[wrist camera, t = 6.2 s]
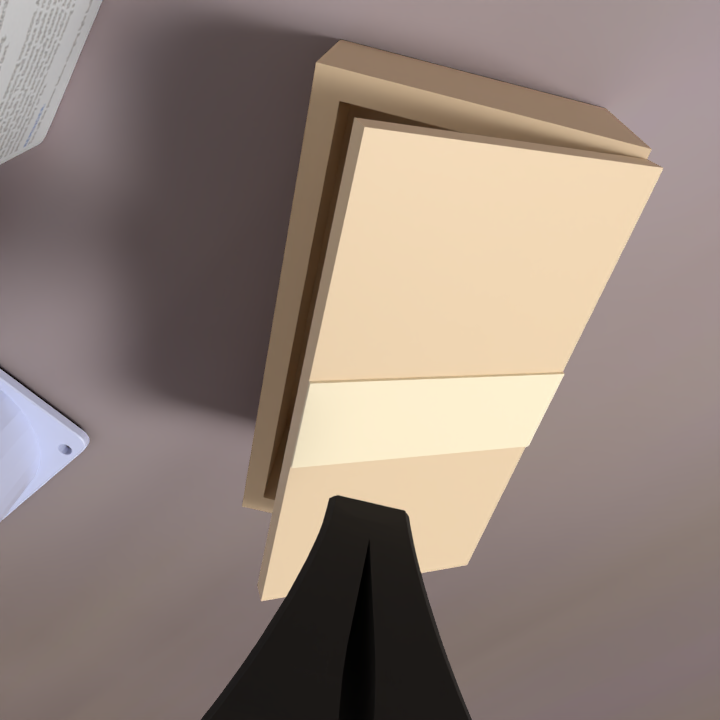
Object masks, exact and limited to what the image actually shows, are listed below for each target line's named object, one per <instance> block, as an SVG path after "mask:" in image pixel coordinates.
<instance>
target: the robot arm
mask: <svg viewBox="0 0 720 720" xmlns="http://www.w3.org/2000/svg"><path fill="white" fill-rule="evenodd" d="M88 444H89V437H88V435H87V434H86V433H85V432H84V431H83V430H82V429H80V428H79V427H78V426H76V425H75V424H74V423H72V422H71V421H70V420H68V419H67V418H66V417H64V416H63V415H62V414H60V413H59V412H58V411H56V410H55V409H54V408H52V407H51V406H50V405H48V404H47V403H46V402H44V401H43V400H42V399H40V398H39V397H38V396H36V395H35V394H33V393H32V392H31V391H29V390H28V389H27V388H25V387H24V386H23V385H21V384H20V383H19V382H17V381H16V380H15V379H13V378H12V377H11V376H9V375H8V374H7V373H5V372H4V371H3V370H1V369H0V522H1V521H2V520H3V519H4V518H5V517H6V516H7V515H9V514H10V513H11V512H12V511H13V510H15V509H16V508H17V507H18V506H19V505H20V504H22V503H23V502H24V501H25V500H26V499H27V498H29V497H30V496H31V495H32V494H33V493H34V492H36V491H37V490H38V489H39V488H40V487H41V486H43V485H44V484H45V483H46V482H47V481H49V480H50V479H51V478H52V477H53V476H54V475H56V474H57V473H58V472H59V471H60V470H61V469H63V468H64V467H65V466H66V465H67V464H68V463H70V462H71V461H72V460H73V459H74V458H76V457H77V456H78V455H79V454H80V453H81V452H83V451H84V449H85V448H86V447H87V445H88ZM66 445H67V446H69V447H67V446H66ZM201 720H472V719H471V717H470V714H469V712H468V710H467V707H466V705H465V702H464V700H463V697H462V695H461V692H460V690H459V687H458V684H457V682H456V679H455V677H454V674H453V671H452V669H451V666H450V663H449V661H448V658H447V655H446V652H445V649H444V646H443V644H442V641H441V638H440V635H439V632H438V628H437V625H436V622H435V619H434V616H433V613H432V610H431V606H430V603H429V600H428V597H427V593H426V590H425V586H424V582H423V579H422V575H421V571H420V567H419V563H418V559H417V555H416V551H415V546H414V541H413V536H412V531H411V526H410V519H409V516H408V514H407V513H406V511H405V510H400V509H396V508H392V507H387V506H383V505H379V504H374V503H370V502H366V501H361V500H357V499H353V498H348V497H344V496H340V495H336V496H333V497H331V498H329V501H328V505H327V508H326V512H325V516H324V519H323V523H322V526H321V528H320V531H319V533H318V536H317V538H316V540H315V542H314V544H313V547H312V549H311V551H310V553H309V555H308V557H307V559H306V561H305V563H304V565H303V567H302V568H301V570H300V572H299V574H298V576H297V578H296V580H295V581H294V583H293V585H292V587H291V589H290V591H289V592H288V594H287V596H286V598H285V599H284V601H283V603H282V604H281V606H280V607H279V609H278V611H277V612H276V614H275V615H274V617H273V619H272V620H271V622H270V623H269V625H268V626H267V628H266V630H265V631H264V633H263V634H262V636H261V638H260V639H259V641H258V642H257V644H256V645H255V647H254V648H253V650H252V651H251V653H250V654H249V655H248V657H247V658H246V660H245V661H244V663H243V664H242V665H241V667H240V668H239V670H238V671H237V673H236V674H235V675H234V677H233V678H232V679H231V681H230V682H229V684H228V685H227V686H226V688H225V689H224V690H223V692H222V693H221V694H220V696H219V697H218V698H217V700H216V701H215V702H214V704H213V705H212V706H211V707H210V709H209V710H208V711H207V713H206V714H205V715H204V716H203V718H202V719H201Z"/></svg>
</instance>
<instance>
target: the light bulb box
mask: <svg viewBox="0 0 720 720" xmlns="http://www.w3.org/2000/svg"><path fill="white" fill-rule="evenodd" d="M102 1H103V0H0V165H1V164H2V163H4V162H6V161H8V160H10V159H12V158H14V157H16V156H18V155H20V154H22V153H24V152H25V151H27V150H29V149H31V148H33V147H35V146H37V145H39V144H40V143H41V142H43V140H44V138H45V136H46V134H47V132H48V130H49V128H50V126H51V123H52V121H53V119H54V116H55V114H56V111H57V109H58V106H59V104H60V102H61V99H62V97H63V95H64V92H65V90H66V88H67V85H68V83H69V80H70V78H71V75H72V73H73V70H74V68H75V65H76V63H77V61H78V58H79V56H80V53H81V51H82V48H83V46H84V44H85V41H86V39H87V36H88V34H89V32H90V29H91V27H92V25H93V22H94V20H95V18H96V15H97V13H98V10H99V8H100V5H101V3H102Z"/></svg>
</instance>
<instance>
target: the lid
mask: <svg viewBox="0 0 720 720" xmlns="http://www.w3.org/2000/svg"><path fill="white" fill-rule="evenodd" d="M662 170H663V167H661V166H659V165H657V164H655V163H653V162H651V161H649V160H647V159H642V158H635V157H628V156H621V155H614V154H607V153H600V152H593V151H586V150H579V149H572V148H565V147H558V146H551V145H544V144H537V143H530V142H523V141H516V140H509V139H502V138H495V137H488V136H481V135H474V134H467V133H460V132H453V131H446V130H439V129H432V128H425V127H418V126H411V125H404V124H397V123H390V122H383V121H376V120H369V119H362V118H355V117H354V122H353V127H352V131H351V136H350V141H349V146H348V151H347V155H346V160H345V165H344V170H343V175H342V180H341V184H340V189H339V194H338V199H337V204H336V208H335V213H334V218H333V223H332V228H331V233H330V237H329V242H328V247H327V252H326V257H325V261H324V266H323V271H322V276H321V281H320V286H319V290H318V295H317V300H316V305H315V310H314V314H313V319H312V324H311V329H310V334H309V339H308V343H307V348H306V353H305V358H304V363H303V367H302V372H301V377H300V382H299V387H298V392H297V396H296V401H295V406H294V411H293V416H292V420H291V425H290V430H289V435H288V440H287V445H286V449H285V454H284V459H283V464H282V469H281V473H280V478H279V483H278V488H277V493H276V498H275V502H274V507H273V512H272V517H271V522H270V526H269V531H268V536H267V541H266V546H265V551H264V555H263V560H262V565H261V570H260V575H259V579H258V584H257V586H258V590H259V594H260V599H261V601H265V600H271V599H276V598H282V597H286V596H287V594H288V592H289V591H290V589H291V587H292V585H293V583H294V581H295V580H296V578H297V576H298V574H299V572H300V570H301V568H302V567H303V565H304V563H305V561H306V559H307V557H308V555H309V553H310V551H311V549H312V547H313V544H314V542H315V540H316V538H317V536H318V533H319V531H320V528H321V526H322V523H323V519H324V516H325V512H326V508H327V505H328V501H329V498H331V497H333V496H336V495H340V496H344V497H348V498H353V499H357V500H361V501H366V502H370V503H374V504H379V505H383V506H387V507H392V508H396V509H400V510H405V511H406V513H407V514H408V516H409V519H410V526H411V531H412V536H413V541H414V546H415V551H416V555H417V559H418V563H419V567H420V571H421V573H424V572H430V571H435V570H441V569H447V568H453V567H458V566H464V565H467V564H468V562H469V560H470V558H471V556H472V554H473V552H474V550H475V548H476V546H477V544H478V542H479V540H480V538H481V536H482V534H483V532H484V530H485V528H486V526H487V524H488V522H489V520H490V518H491V516H492V514H493V511H494V509H495V507H496V505H497V503H498V501H499V499H500V497H501V495H502V493H503V491H504V489H505V487H506V485H507V483H508V481H509V479H510V477H511V475H512V473H513V471H514V469H515V467H516V465H517V463H518V461H519V459H520V457H521V455H522V453H523V451H524V449H525V447H526V446H529V444H530V442H531V440H532V438H533V436H534V434H535V432H536V430H537V428H538V426H539V424H540V422H541V420H542V418H543V416H544V414H545V412H546V410H547V408H548V406H549V404H550V402H551V400H552V398H553V396H554V394H555V392H556V390H557V388H558V386H559V384H560V382H561V380H562V378H563V376H564V373H563V370H564V368H565V366H566V364H567V362H568V360H569V358H570V356H571V354H572V352H573V350H574V348H575V346H576V344H577V342H578V340H579V338H580V336H581V334H582V332H583V330H584V328H585V326H586V324H587V322H588V320H589V318H590V316H591V314H592V312H593V310H594V307H595V305H596V303H597V301H598V299H599V297H600V295H601V293H602V291H603V289H604V287H605V285H606V283H607V281H608V279H609V277H610V275H611V273H612V271H613V269H614V267H615V265H616V263H617V261H618V259H619V257H620V255H621V253H622V251H623V249H624V247H625V245H626V243H627V241H628V239H629V237H630V235H631V233H632V231H633V229H634V227H635V225H636V223H637V221H638V219H639V217H640V215H641V213H642V211H643V209H644V207H645V204H646V202H647V200H648V198H649V196H650V194H651V192H652V190H653V188H654V186H655V184H656V182H657V180H658V178H659V176H660V174H661V172H662Z"/></svg>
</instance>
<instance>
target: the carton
mask: <svg viewBox="0 0 720 720" xmlns="http://www.w3.org/2000/svg"><path fill="white" fill-rule="evenodd" d="M354 117H355V118H362V119H369V120H376V121H383V122H390V123H397V124H404V125H411V126H418V127H425V128H432V129H439V130H446V131H453V132H460V133H467V134H474V135H481V136H488V137H495V138H502V139H509V140H516V141H523V142H530V143H537V144H544V145H551V146H558V147H565V148H572V149H579V150H586V151H593V152H600V153H607V154H614V155H621V156H628V157H635V158H642V159H647V158H648V156H649V154H650V152H651V148H650V147H649V146H648V145H646V144H645V143H644V142H643V141H642V140H641V139H640V138H639V137H637V136H636V135H635V134H634V133H633V132H632V131H631V130H629V129H628V128H627V127H626V126H625V125H624V124H623V123H622V122H620V121H619V120H618V119H617V118H616V117H615V116H614V115H613V114H611V113H610V112H609V111H608V110H607V109H606V108H602V107H598V106H594V105H590V104H586V103H583V102H579V101H575V100H571V99H567V98H563V97H560V96H556V95H552V94H548V93H544V92H540V91H537V90H533V89H529V88H525V87H521V86H517V85H514V84H510V83H506V82H502V81H498V80H494V79H491V78H487V77H483V76H479V75H475V74H472V73H468V72H464V71H460V70H456V69H452V68H449V67H445V66H441V65H437V64H433V63H429V62H426V61H422V60H418V59H414V58H410V57H406V56H403V55H399V54H395V53H391V52H387V51H383V50H380V49H376V48H372V47H368V46H364V45H360V44H357V43H353V42H349V41H345V40H341V39H340V40H339V41H338V42H337V43H336V44H335V45H334V46H333V47H332V48H331V49H330V50H329V51H328V52H326V53H325V54H324V55H323V56H322V57H321V58H320V59H319V60H318V61H317V62H316V66H315V72H314V78H313V84H312V90H311V96H310V102H309V108H308V114H307V120H306V126H305V132H304V138H303V144H302V150H301V156H300V162H299V168H298V174H297V180H296V186H295V192H294V198H293V204H292V210H291V216H290V222H289V228H288V234H287V240H286V246H285V252H284V258H283V264H282V270H281V276H280V282H279V288H278V294H277V300H276V306H275V312H274V318H273V324H272V330H271V336H270V342H269V348H268V354H267V360H266V366H265V372H264V378H263V384H262V390H261V396H260V402H259V408H258V414H257V420H256V426H255V432H254V438H253V444H252V450H251V456H250V462H249V468H248V474H247V480H246V486H245V492H244V498H243V504H242V506H243V507H247V508H252V509H256V510H261V511H265V512H269V513H272V512H273V507H274V502H275V498H276V493H277V488H278V483H279V478H280V473H281V469H282V464H283V459H284V454H285V449H286V445H287V440H288V435H289V430H290V425H291V420H292V416H293V411H294V406H295V401H296V396H297V392H298V387H299V382H300V377H301V372H302V367H303V363H304V358H305V353H306V348H307V343H308V339H309V334H310V329H311V324H312V319H313V314H314V310H315V305H316V300H317V295H318V290H319V286H320V281H321V276H322V271H323V266H324V261H325V257H326V252H327V247H328V242H329V237H330V233H331V228H332V223H333V218H334V213H335V208H336V204H337V199H338V194H339V189H340V184H341V180H342V175H343V170H344V165H345V160H346V155H347V151H348V146H349V141H350V136H351V131H352V127H353V122H354Z"/></svg>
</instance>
